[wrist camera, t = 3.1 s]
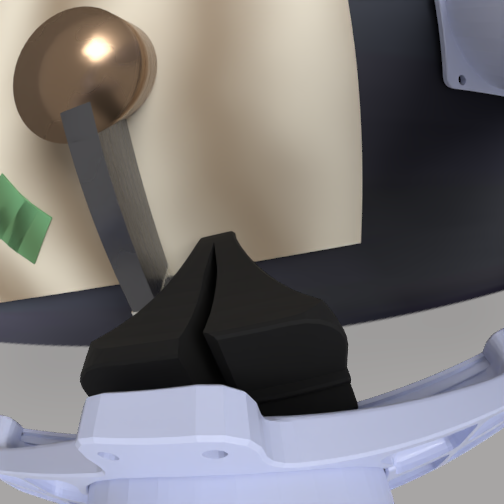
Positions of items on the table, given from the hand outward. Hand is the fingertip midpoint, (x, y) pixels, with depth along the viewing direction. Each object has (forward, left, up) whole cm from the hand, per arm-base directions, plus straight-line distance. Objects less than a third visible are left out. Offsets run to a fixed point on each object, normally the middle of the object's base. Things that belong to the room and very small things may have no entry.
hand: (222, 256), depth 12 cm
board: (+5, -7, -2) cm, 9 cm away
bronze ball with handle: (+3, -4, -1) cm, 5 cm away
